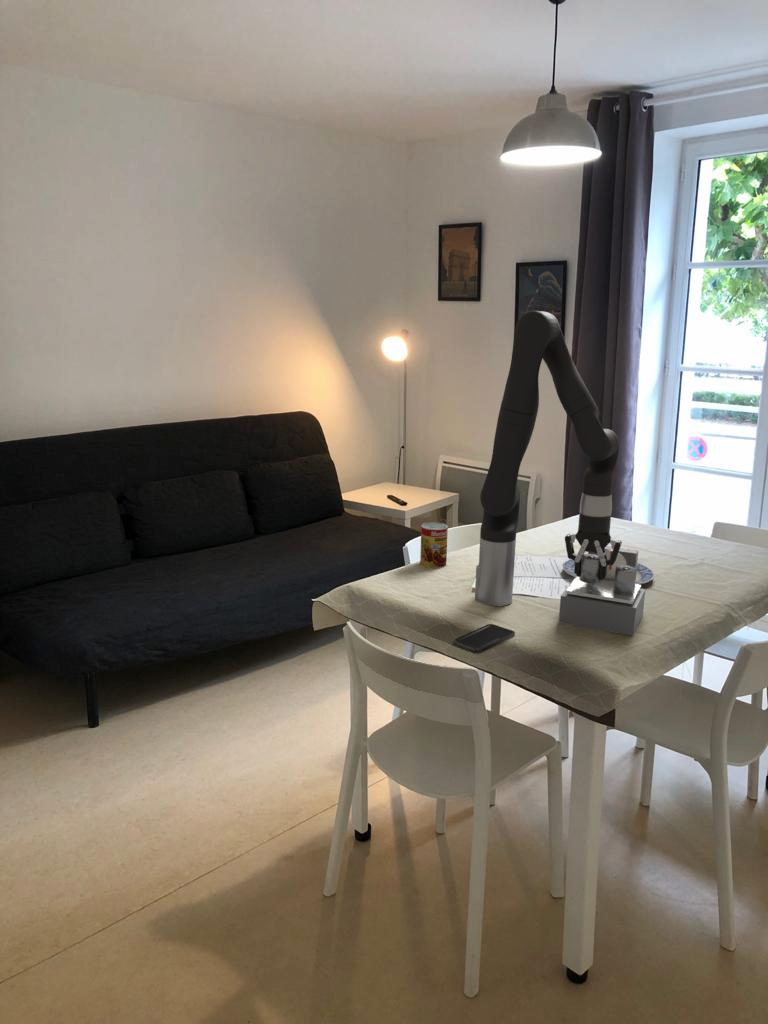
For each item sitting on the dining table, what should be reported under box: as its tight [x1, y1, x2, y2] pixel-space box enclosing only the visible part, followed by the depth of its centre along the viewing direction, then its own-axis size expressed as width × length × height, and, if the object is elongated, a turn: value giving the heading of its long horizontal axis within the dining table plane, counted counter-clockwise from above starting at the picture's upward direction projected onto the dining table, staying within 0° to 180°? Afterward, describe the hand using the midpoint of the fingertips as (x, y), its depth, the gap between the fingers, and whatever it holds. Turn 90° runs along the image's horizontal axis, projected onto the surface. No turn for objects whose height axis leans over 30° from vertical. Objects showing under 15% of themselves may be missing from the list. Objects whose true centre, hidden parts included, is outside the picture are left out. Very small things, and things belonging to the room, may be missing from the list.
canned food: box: [419, 522, 449, 569], centre depth 247 cm, size 8×8×12 cm
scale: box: [558, 545, 646, 636], centre depth 207 cm, size 18×18×16 cm
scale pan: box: [565, 577, 642, 604], centre depth 206 cm, size 16×13×1 cm
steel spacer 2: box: [613, 565, 637, 596], centre depth 202 cm, size 5×5×6 cm
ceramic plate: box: [562, 559, 655, 585], centre depth 240 cm, size 26×26×3 cm
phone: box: [453, 623, 516, 654], centre depth 194 cm, size 8×1×15 cm
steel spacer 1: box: [579, 553, 601, 583], centre depth 205 cm, size 5×5×6 cm
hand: (590, 577), depth 206 cm, fingers closed on steel spacer 1, 5 cm apart
